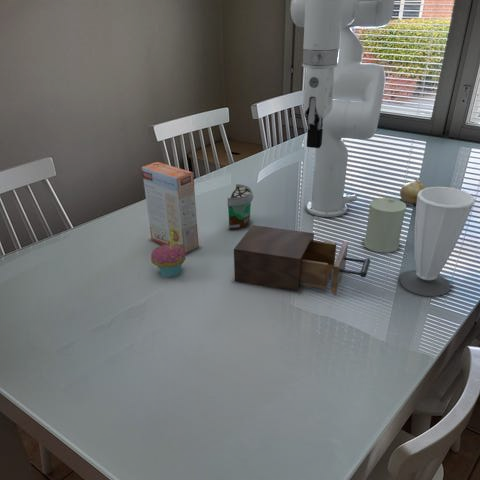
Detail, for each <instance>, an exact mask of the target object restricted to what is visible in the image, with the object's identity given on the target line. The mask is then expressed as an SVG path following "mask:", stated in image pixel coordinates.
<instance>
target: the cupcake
mask: <svg viewBox="0 0 480 480" xmlns="http://www.w3.org/2000/svg"><path fill="white" fill-rule="evenodd" d="M173 234H174V232H173V229H172V232H171V239H170V244H167V245H162V244H160V245H159V246H157V247H155V248H154V249H153V250H152V252H151V253H150V262H151V264H153V265H154V266H156V267H157V268H158V270H159V272H160V274H161V275H162V276H163V277H168V278H171V277H176V276H178V275H179V274H180V273H181V269H182V265H183V264H184V263H185V261H186V260H187V259H186V257H187V253H186V252H185V251H184V250H183V249H182V248H181V247H179V246H177V245H174V244H173Z"/></svg>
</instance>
